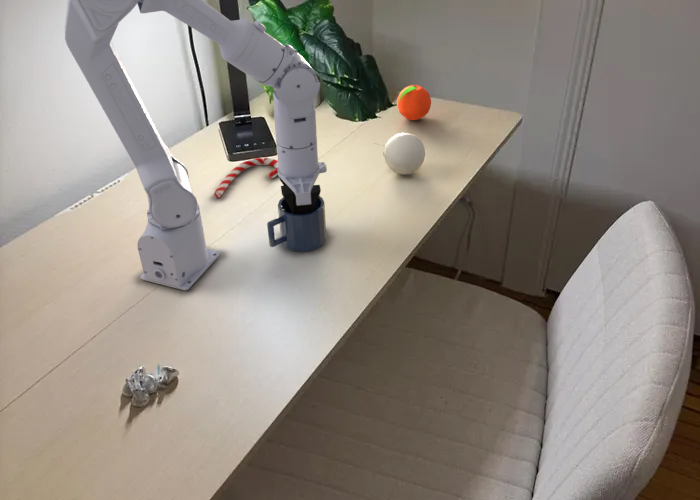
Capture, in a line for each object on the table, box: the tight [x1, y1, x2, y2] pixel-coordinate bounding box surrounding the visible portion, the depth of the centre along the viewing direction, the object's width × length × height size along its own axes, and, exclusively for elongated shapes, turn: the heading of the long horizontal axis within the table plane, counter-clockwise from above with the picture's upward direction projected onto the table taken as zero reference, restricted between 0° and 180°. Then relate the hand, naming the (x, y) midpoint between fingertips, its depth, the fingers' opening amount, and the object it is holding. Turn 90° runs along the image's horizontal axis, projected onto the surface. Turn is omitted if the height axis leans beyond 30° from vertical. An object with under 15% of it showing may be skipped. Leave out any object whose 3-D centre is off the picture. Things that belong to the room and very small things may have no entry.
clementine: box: [396, 84, 432, 121], centre depth 137 cm, size 8×7×7 cm
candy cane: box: [213, 157, 279, 199], centre depth 120 cm, size 8×1×15 cm
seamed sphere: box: [373, 132, 426, 175], centre depth 120 cm, size 10×7×7 cm
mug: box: [266, 195, 327, 253], centre depth 103 cm, size 10×7×6 cm
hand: (302, 220), depth 103 cm, fingers closed, pressing on mug, stick
